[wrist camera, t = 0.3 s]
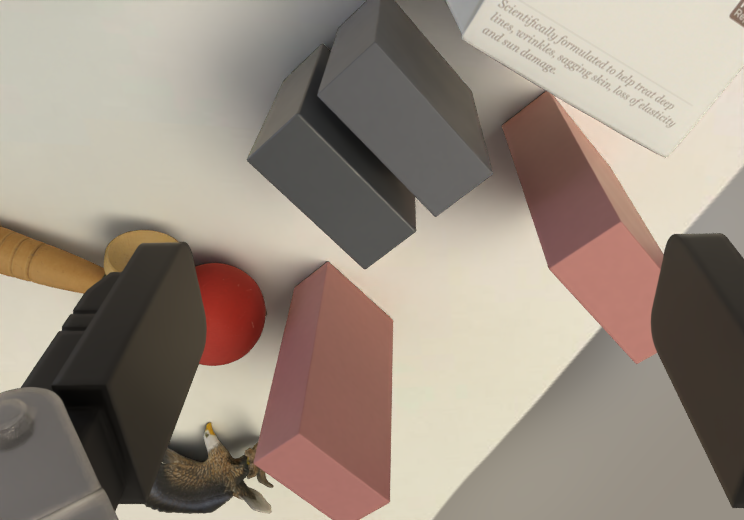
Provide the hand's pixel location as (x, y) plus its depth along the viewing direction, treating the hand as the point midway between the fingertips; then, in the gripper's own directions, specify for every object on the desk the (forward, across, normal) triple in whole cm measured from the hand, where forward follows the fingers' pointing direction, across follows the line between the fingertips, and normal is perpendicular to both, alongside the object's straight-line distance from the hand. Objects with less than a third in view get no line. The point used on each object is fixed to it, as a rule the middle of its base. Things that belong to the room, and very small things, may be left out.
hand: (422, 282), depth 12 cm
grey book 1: (+25, +3, +6) cm, 26 cm away
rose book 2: (+25, -8, +8) cm, 28 cm away
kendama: (+25, +18, +16) cm, 35 cm away
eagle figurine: (+25, +15, +31) cm, 43 cm away
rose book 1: (+25, +4, +19) cm, 32 cm away
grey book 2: (+25, 0, +4) cm, 25 cm away
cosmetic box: (+25, -6, -2) cm, 26 cm away
